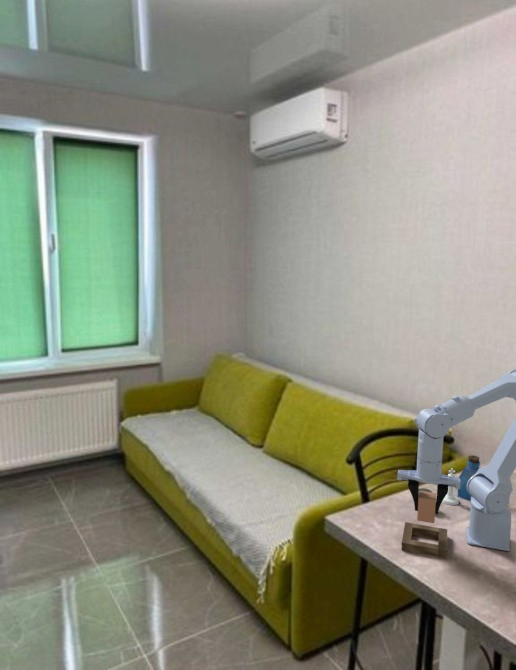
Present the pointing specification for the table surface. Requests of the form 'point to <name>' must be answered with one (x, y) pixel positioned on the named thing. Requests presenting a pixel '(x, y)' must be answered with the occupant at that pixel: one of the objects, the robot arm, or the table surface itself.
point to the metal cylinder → (424, 490)
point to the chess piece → (450, 493)
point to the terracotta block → (426, 507)
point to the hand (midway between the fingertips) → (426, 510)
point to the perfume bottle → (468, 476)
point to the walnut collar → (424, 547)
